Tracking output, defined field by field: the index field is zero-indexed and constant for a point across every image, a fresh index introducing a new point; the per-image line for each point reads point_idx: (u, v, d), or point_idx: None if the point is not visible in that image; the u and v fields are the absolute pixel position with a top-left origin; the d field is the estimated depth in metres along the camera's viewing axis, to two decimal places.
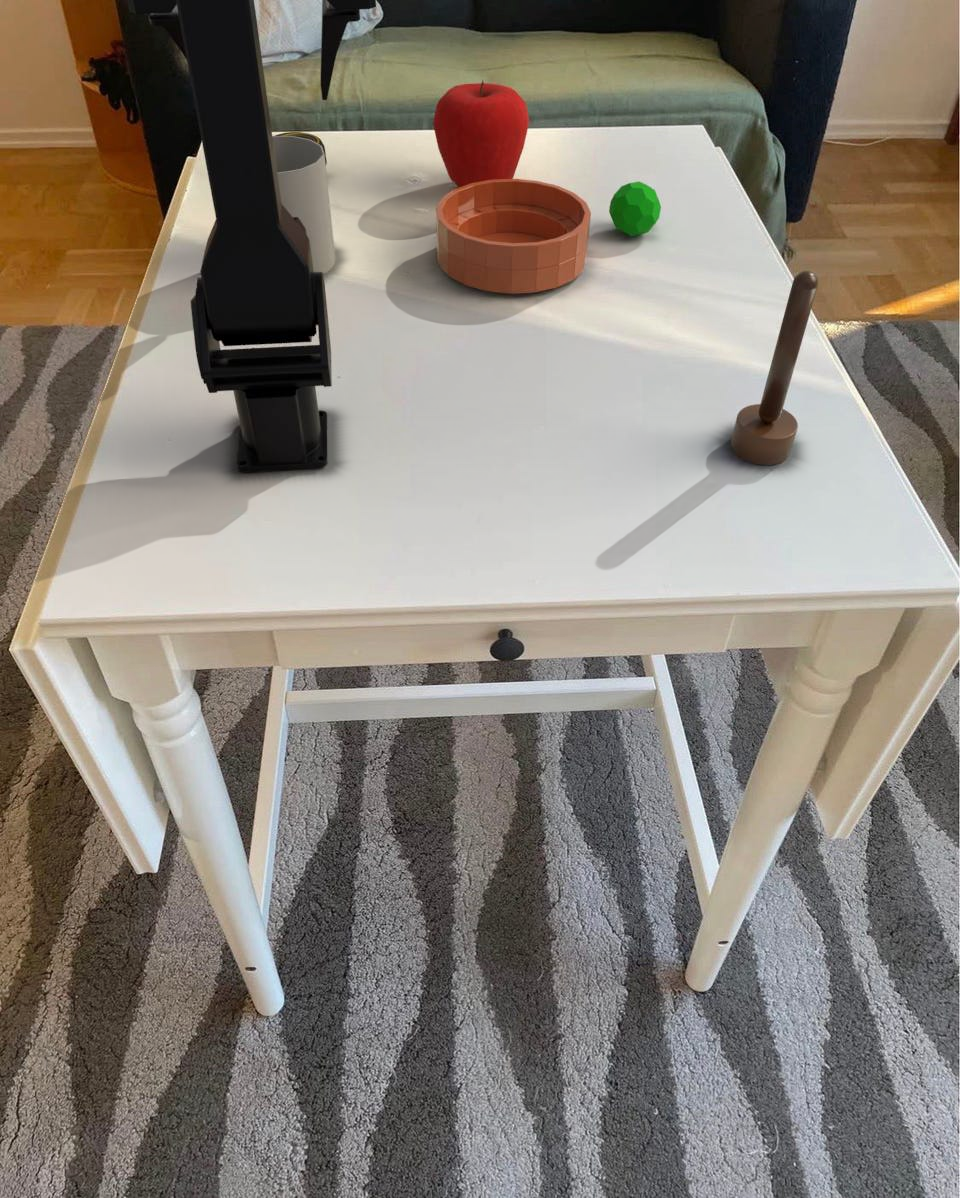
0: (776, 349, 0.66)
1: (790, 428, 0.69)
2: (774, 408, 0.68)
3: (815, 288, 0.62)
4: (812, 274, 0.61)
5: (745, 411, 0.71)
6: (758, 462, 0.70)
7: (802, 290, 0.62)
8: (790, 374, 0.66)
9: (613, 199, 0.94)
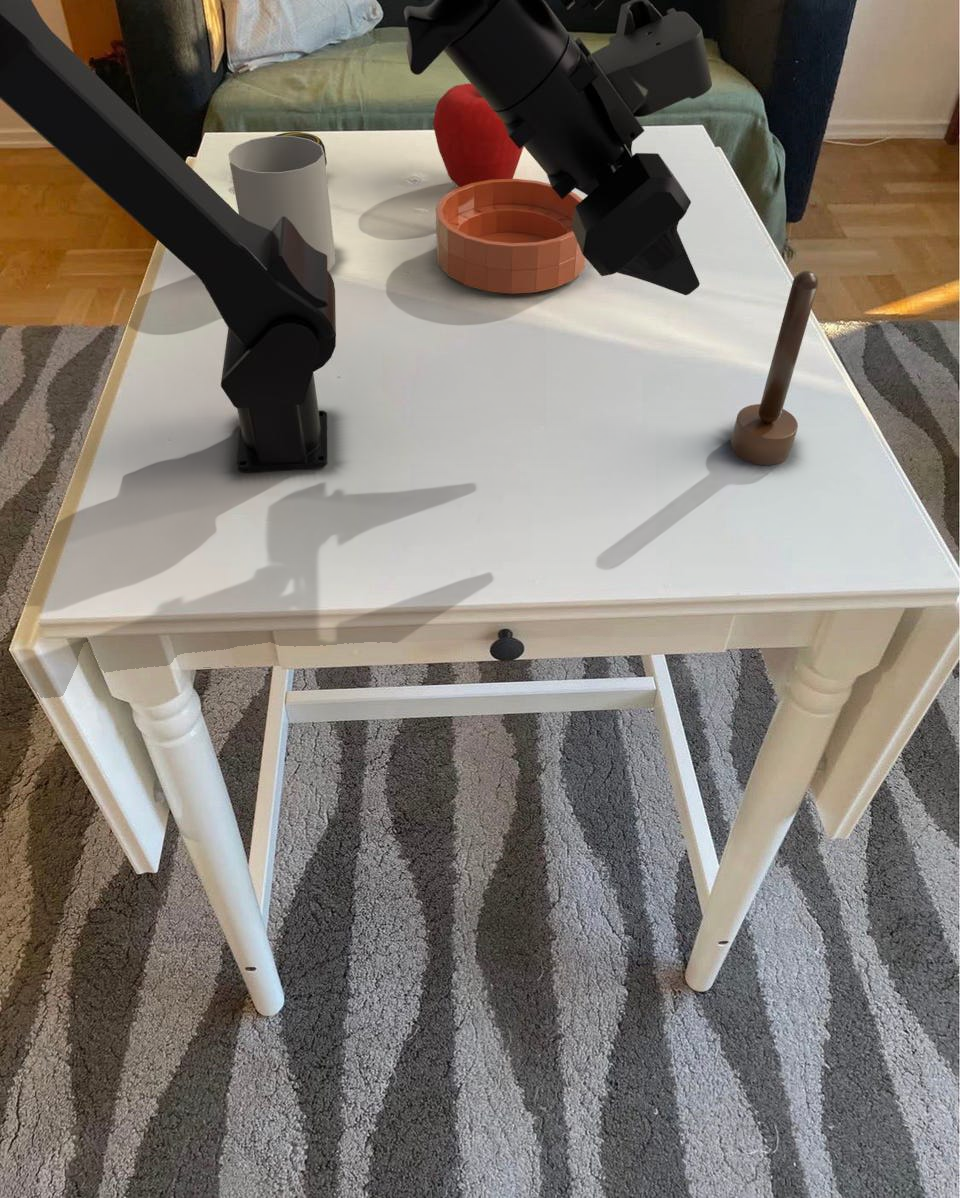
0: (776, 349, 0.66)
1: (790, 428, 0.69)
2: (774, 408, 0.68)
3: (815, 288, 0.62)
4: (812, 274, 0.61)
5: (745, 411, 0.71)
6: (758, 462, 0.70)
7: (802, 290, 0.62)
8: (790, 374, 0.66)
9: None
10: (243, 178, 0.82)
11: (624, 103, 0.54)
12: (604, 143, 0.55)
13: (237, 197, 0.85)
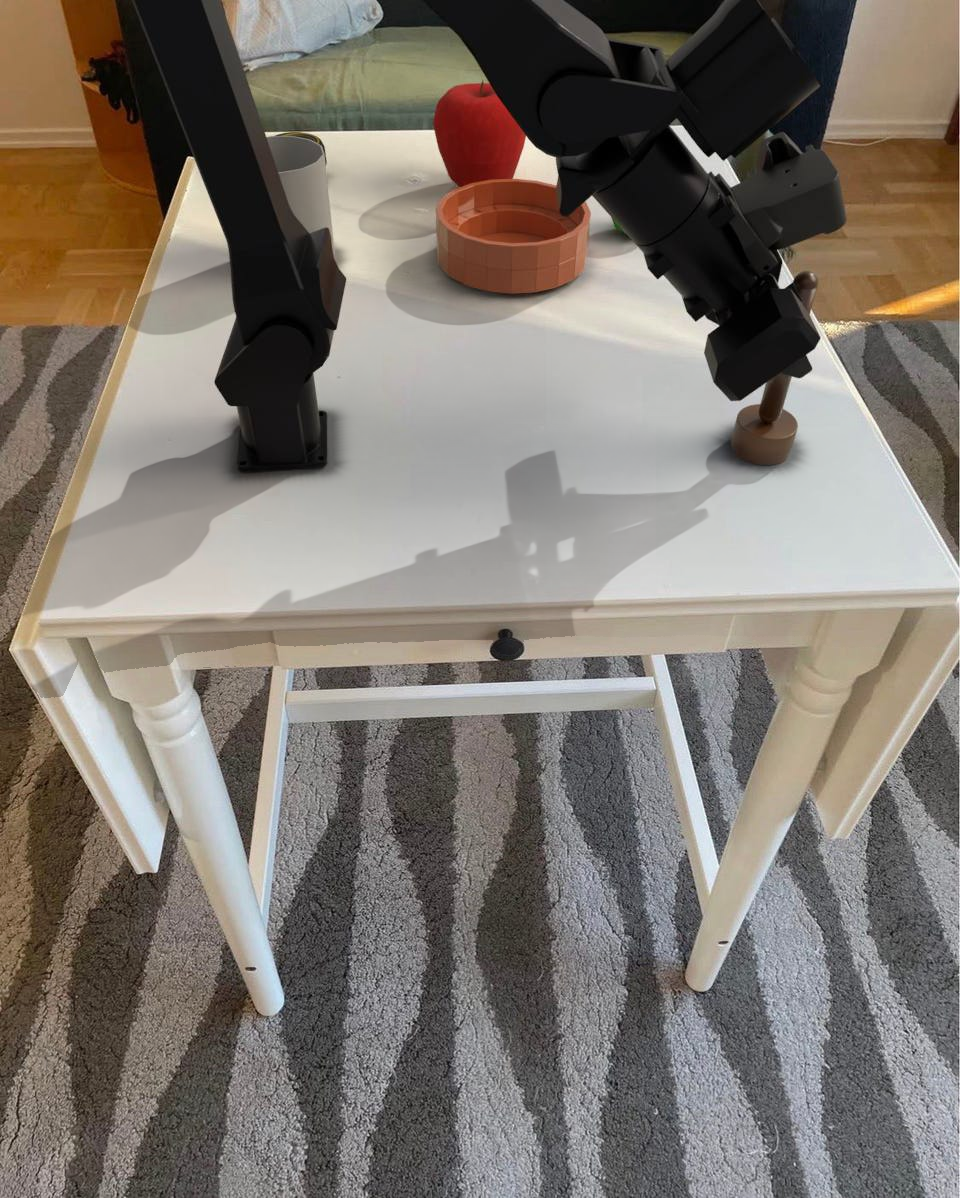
0: None
1: (790, 428, 0.69)
2: (774, 408, 0.68)
3: (815, 288, 0.62)
4: (812, 274, 0.61)
5: (745, 411, 0.71)
6: (758, 462, 0.70)
7: (802, 290, 0.62)
8: None
9: None
10: None
11: (759, 240, 0.57)
12: (739, 274, 0.59)
13: None
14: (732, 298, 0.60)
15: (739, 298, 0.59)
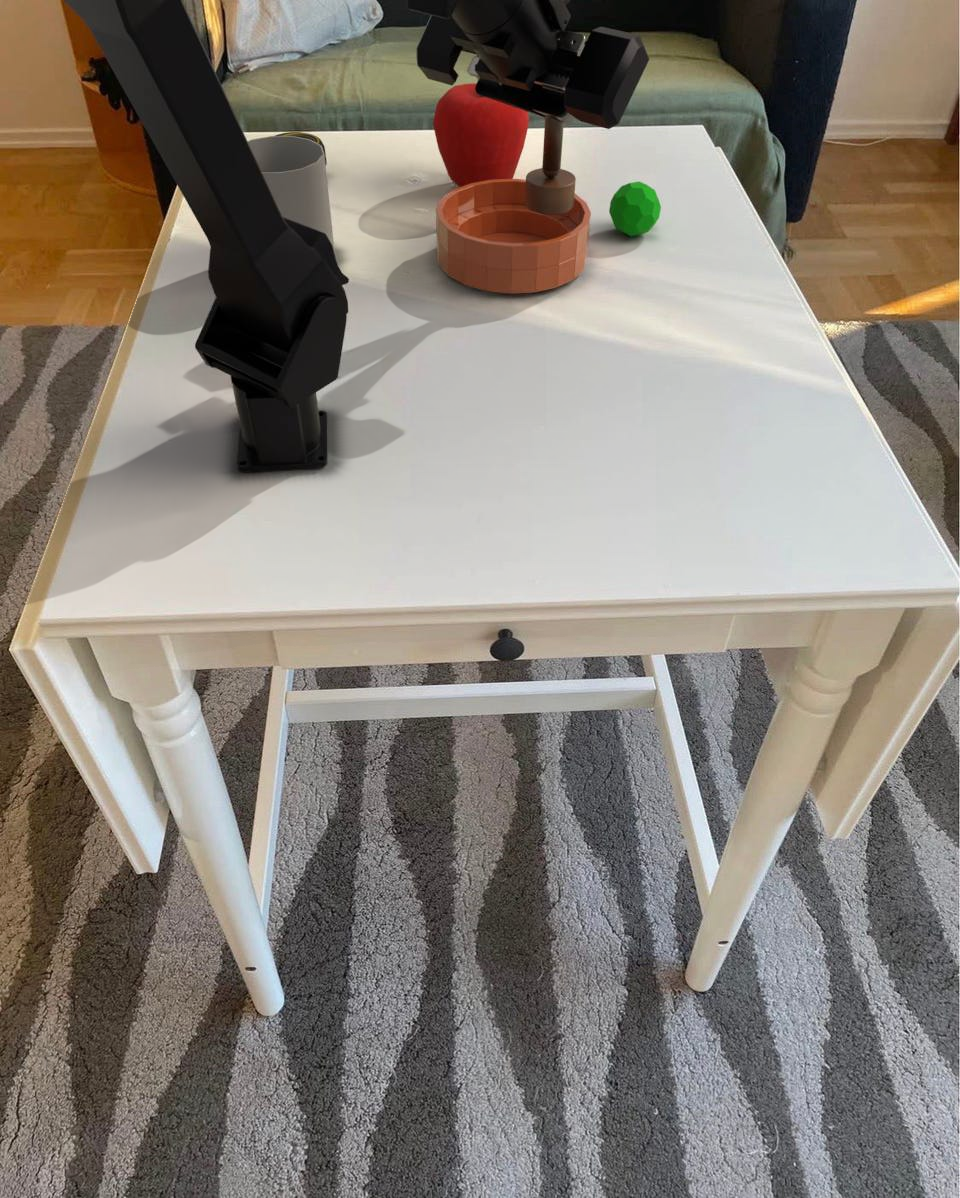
0: None
1: (569, 174, 0.84)
2: (559, 160, 0.83)
3: None
4: None
5: (531, 178, 0.84)
6: (564, 210, 0.84)
7: None
8: (563, 125, 0.81)
9: (613, 199, 0.94)
10: None
11: None
12: (551, 35, 0.71)
13: None
14: (551, 58, 0.72)
15: (558, 54, 0.71)
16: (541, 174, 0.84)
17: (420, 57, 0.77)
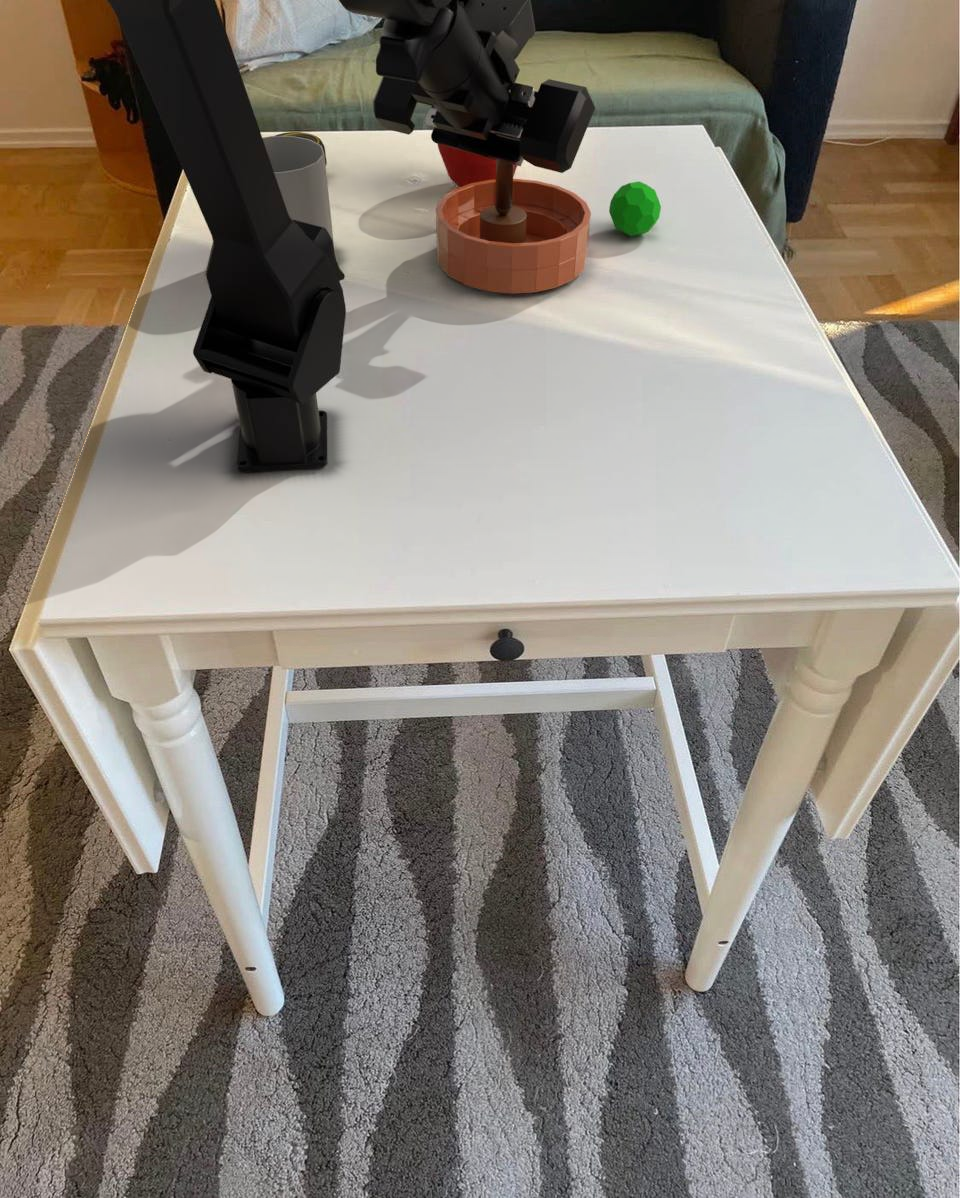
0: None
1: (520, 210, 0.90)
2: (510, 198, 0.88)
3: None
4: None
5: (485, 216, 0.89)
6: None
7: None
8: (513, 166, 0.86)
9: (613, 199, 0.94)
10: None
11: None
12: (503, 88, 0.76)
13: None
14: (504, 109, 0.77)
15: (511, 106, 0.77)
16: (494, 211, 0.90)
17: (378, 110, 0.81)
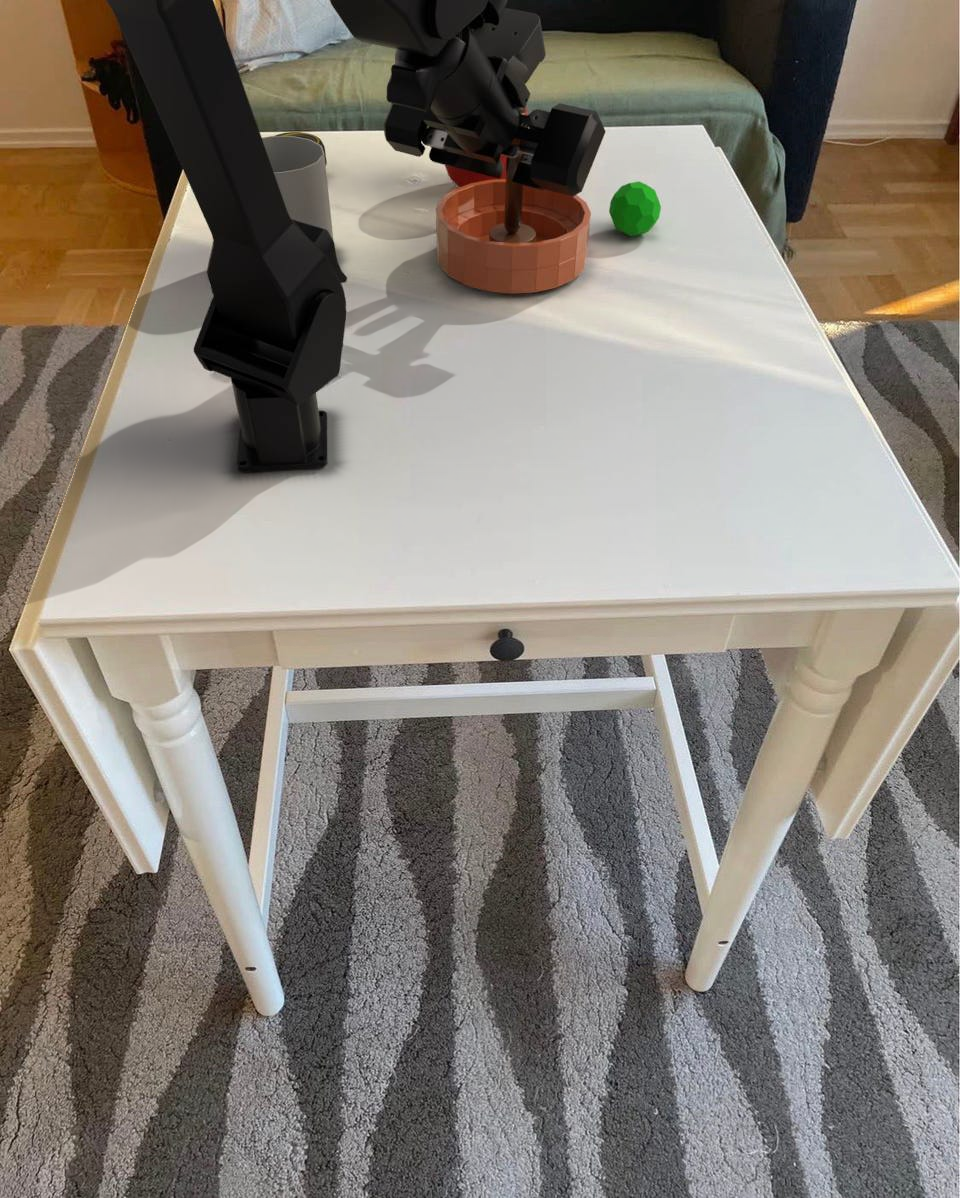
0: (511, 170, 0.85)
1: (529, 229, 0.90)
2: (520, 217, 0.88)
3: (525, 110, 0.82)
4: None
5: (494, 235, 0.89)
6: None
7: None
8: (522, 185, 0.86)
9: (613, 199, 0.94)
10: None
11: None
12: (514, 112, 0.76)
13: None
14: (515, 133, 0.77)
15: (522, 130, 0.77)
16: (503, 230, 0.90)
17: (388, 132, 0.81)
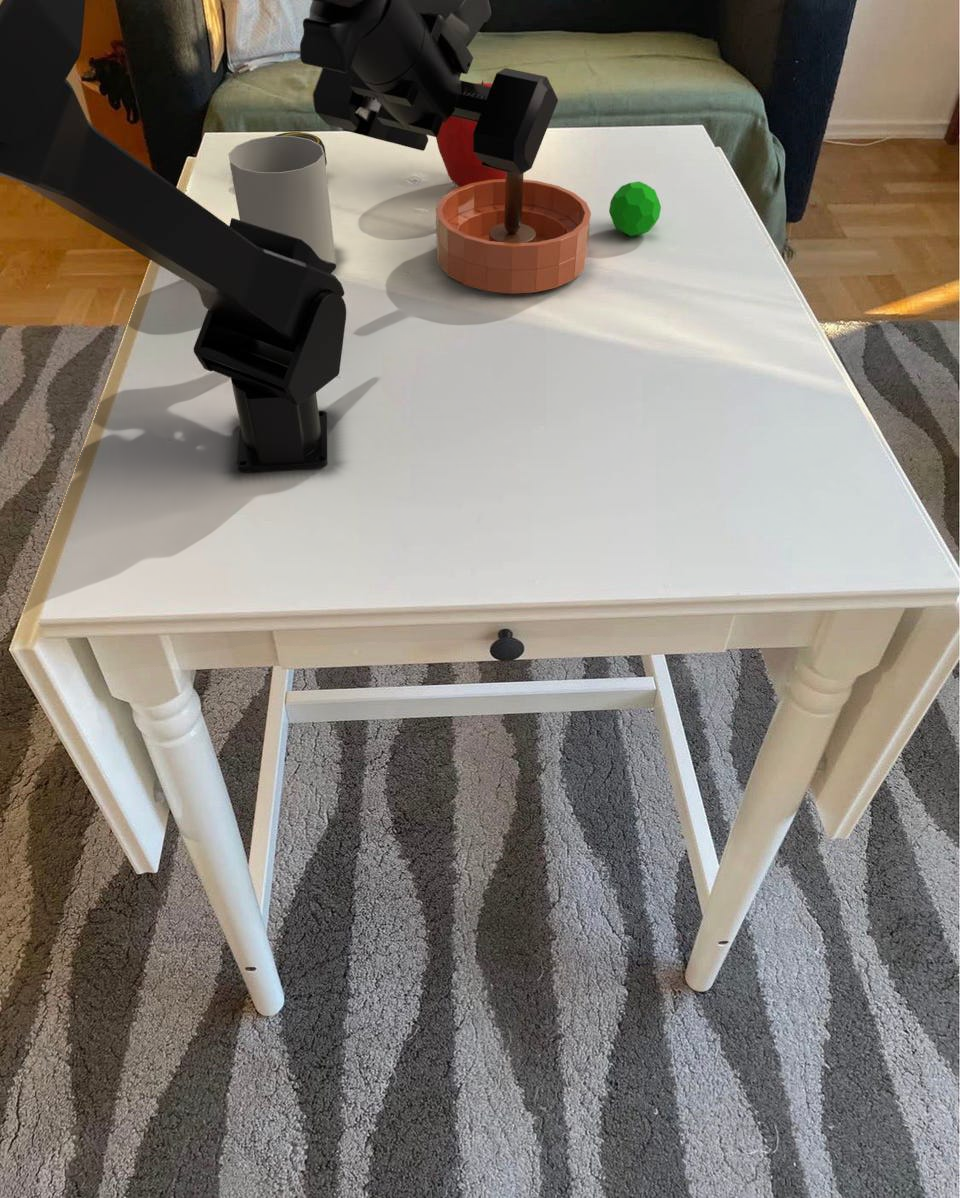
0: None
1: (529, 229, 0.90)
2: (520, 217, 0.88)
3: None
4: None
5: (494, 235, 0.89)
6: None
7: None
8: (522, 185, 0.86)
9: (613, 199, 0.94)
10: (243, 178, 0.82)
11: (461, 40, 0.66)
12: (454, 78, 0.68)
13: (237, 197, 0.85)
14: (456, 102, 0.68)
15: (463, 98, 0.68)
16: (503, 230, 0.90)
17: (317, 103, 0.73)
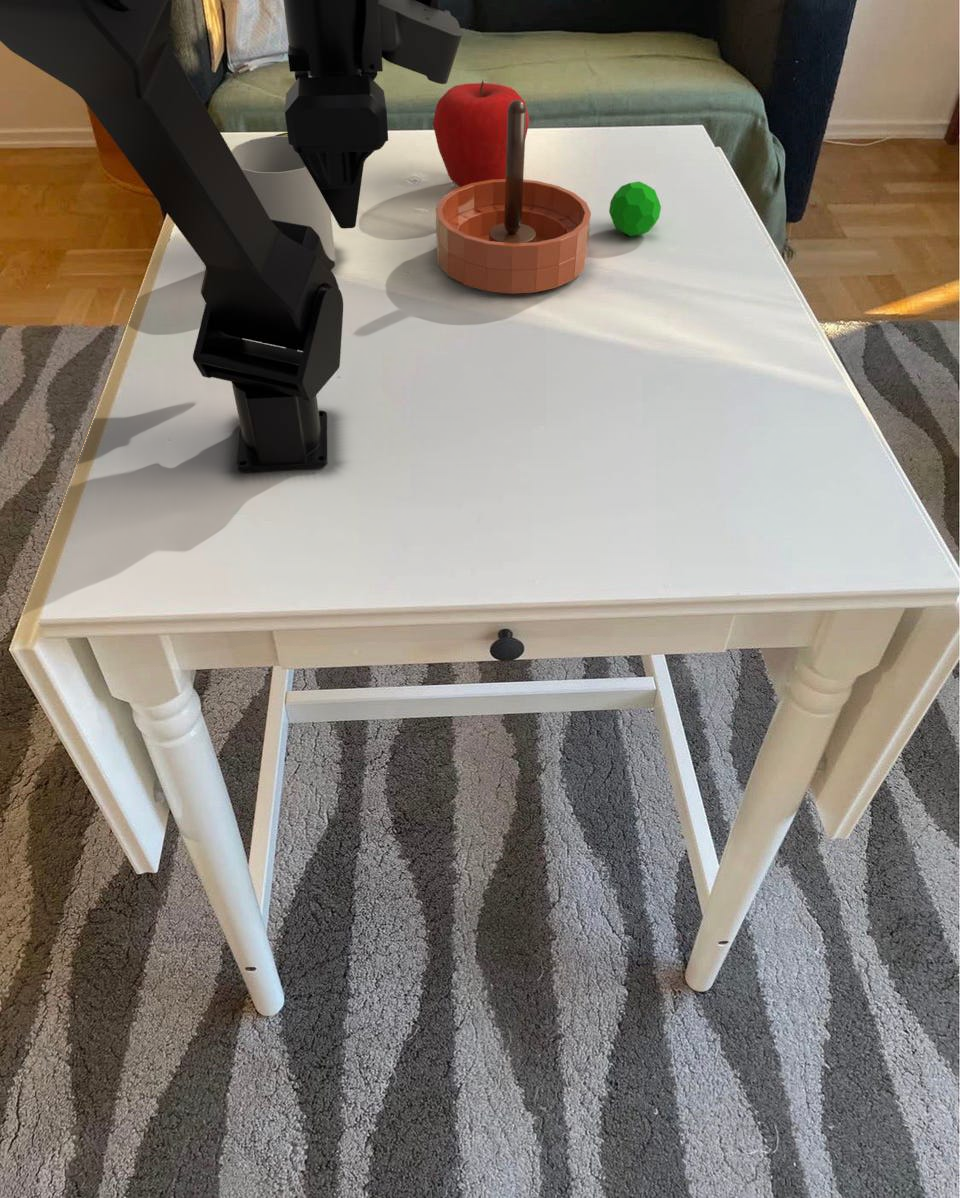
0: (511, 170, 0.85)
1: (529, 229, 0.90)
2: (520, 217, 0.88)
3: (525, 110, 0.82)
4: None
5: (494, 235, 0.89)
6: None
7: (521, 114, 0.81)
8: (522, 185, 0.86)
9: (613, 199, 0.94)
10: None
11: (380, 36, 0.61)
12: (348, 54, 0.61)
13: None
14: (331, 72, 0.62)
15: (337, 75, 0.62)
16: (503, 230, 0.90)
17: None
